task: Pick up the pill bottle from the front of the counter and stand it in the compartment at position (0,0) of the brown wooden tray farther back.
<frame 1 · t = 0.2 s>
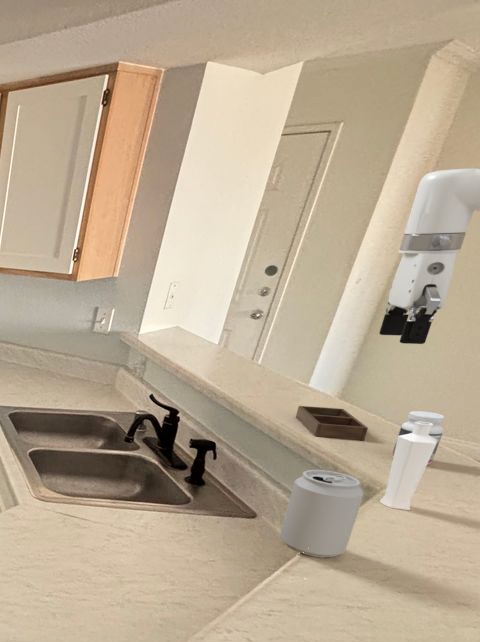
hand: (400, 339, 111), 25 cm above the counter, tool pointing down, fingers open, 9 cm apart
perfume bottle: (396, 506, 102), on the counter
brown wooden tray: (327, 428, 139), on the counter
pill bottle: (410, 461, 119), on the counter
can: (309, 549, 90), on the counter
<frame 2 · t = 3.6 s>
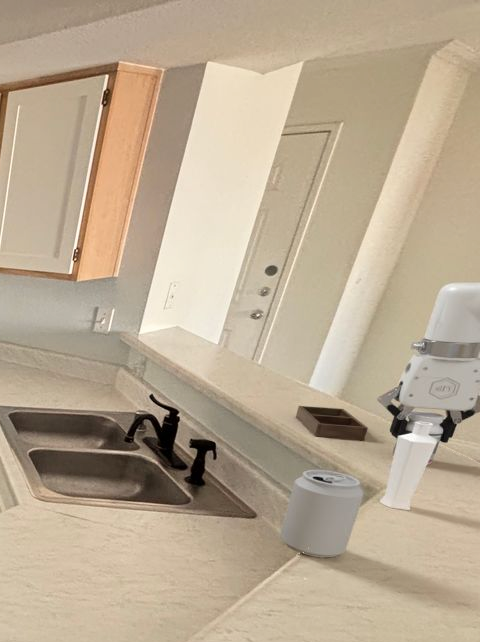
hand: (418, 437, 117), 5 cm above the counter, tool pointing down, fingers closed on pill bottle, 5 cm apart
pill bottle: (410, 461, 119), on the counter, touching gripper
everything else where it was.
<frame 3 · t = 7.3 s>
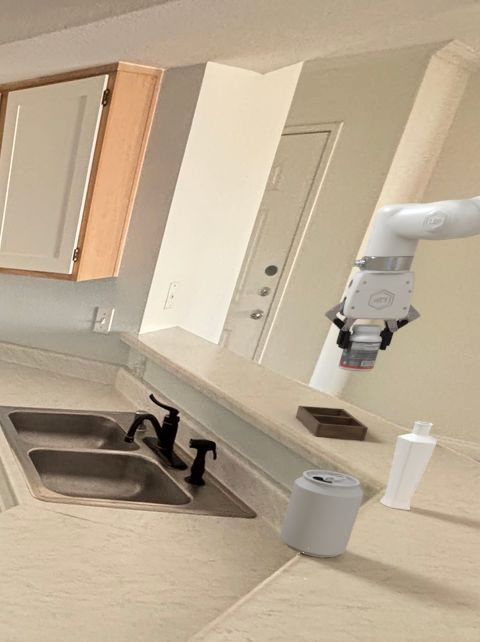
hand: (361, 347, 132), 19 cm above the counter, tool pointing down, fingers closed on pill bottle, 5 cm apart
pill bottle: (354, 370, 133), point 14 cm above the counter, touching gripper
everything else where it was.
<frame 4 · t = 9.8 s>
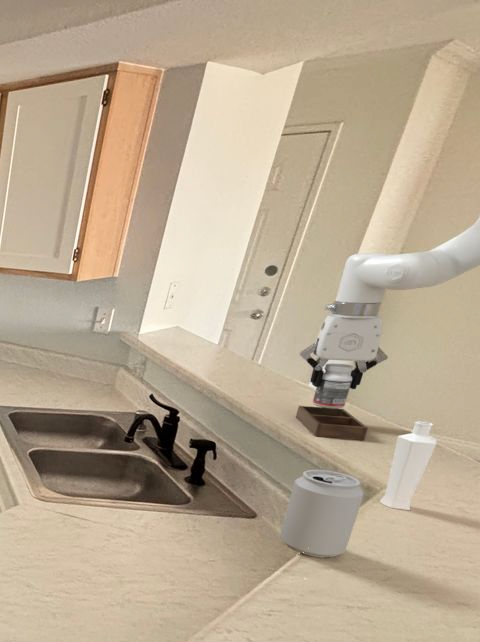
hand: (333, 386, 139), 9 cm above the counter, tool pointing down, fingers closed on pill bottle, 5 cm apart
pill bottle: (327, 406, 141), point 4 cm above the counter, touching gripper
everything else where it was.
when the fingers open (6 cm above the counter, at t = 11.2 s): pill bottle stays where it is, resting on brown wooden tray.
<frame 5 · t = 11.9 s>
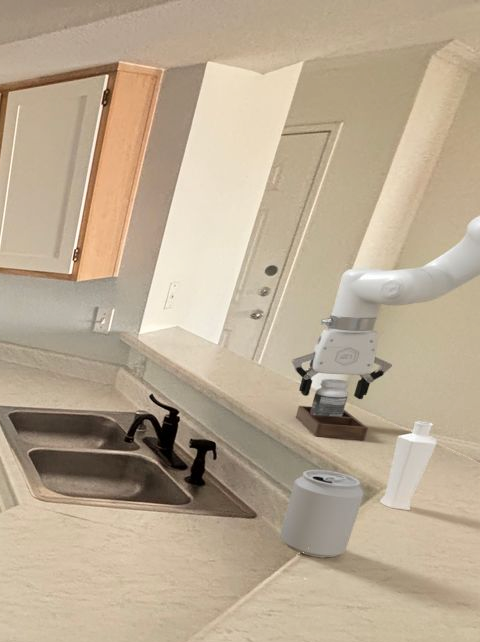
hand: (330, 396, 140), 7 cm above the counter, tool pointing down, fingers open, 9 cm apart
pill bottle: (323, 421, 142), point 1 cm above the counter, touching brown wooden tray
everything else where it was.
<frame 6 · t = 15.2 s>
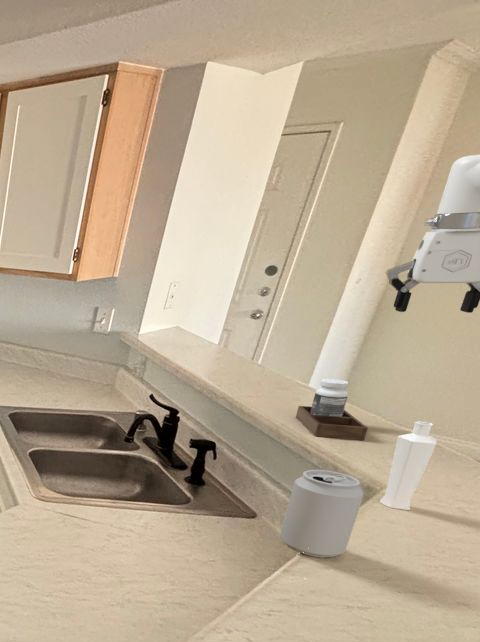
hand: (432, 311, 121), 28 cm above the counter, tool pointing down, fingers open, 9 cm apart
nothing on the counter moved.
at the end: pill bottle 0.1 cm from the target spot in the brown wooden tray, point 0.5 cm above the brown wooden tray's base; pill bottle tilted 0°; the gripper is holding nothing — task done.
